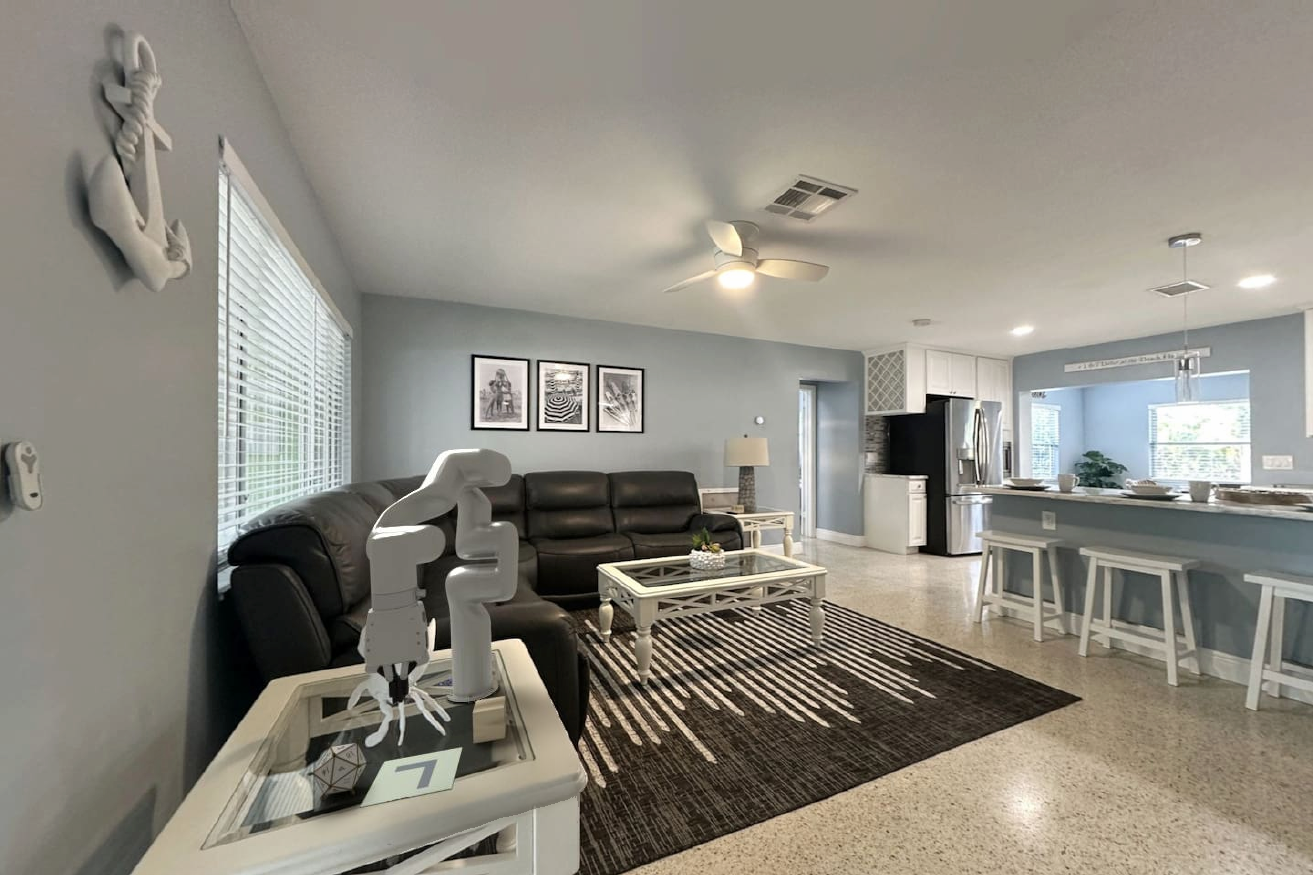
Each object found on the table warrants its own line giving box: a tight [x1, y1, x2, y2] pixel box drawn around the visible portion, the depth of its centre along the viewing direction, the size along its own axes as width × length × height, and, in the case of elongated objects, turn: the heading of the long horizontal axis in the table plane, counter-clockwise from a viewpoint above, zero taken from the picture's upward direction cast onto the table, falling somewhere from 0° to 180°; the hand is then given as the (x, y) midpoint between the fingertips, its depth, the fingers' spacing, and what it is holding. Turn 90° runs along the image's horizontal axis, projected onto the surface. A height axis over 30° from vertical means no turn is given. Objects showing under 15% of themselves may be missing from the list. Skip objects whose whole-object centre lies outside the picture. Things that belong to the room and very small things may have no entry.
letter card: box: [359, 747, 463, 808], centre depth 90 cm, size 14×14×1 cm
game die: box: [306, 737, 373, 801], centre depth 86 cm, size 9×8×10 cm
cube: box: [472, 695, 507, 744], centre depth 104 cm, size 6×6×6 cm
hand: (399, 699), depth 91 cm, fingers closed
